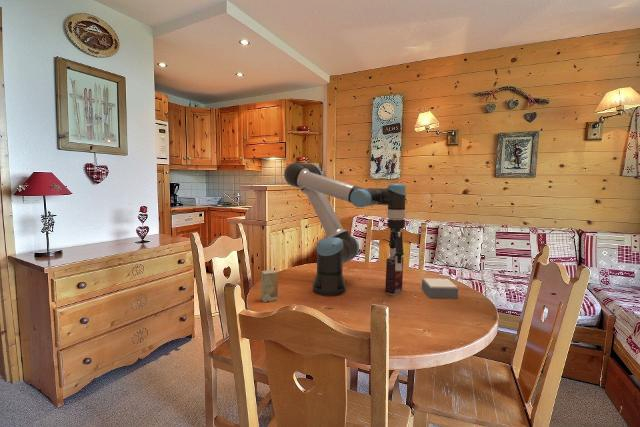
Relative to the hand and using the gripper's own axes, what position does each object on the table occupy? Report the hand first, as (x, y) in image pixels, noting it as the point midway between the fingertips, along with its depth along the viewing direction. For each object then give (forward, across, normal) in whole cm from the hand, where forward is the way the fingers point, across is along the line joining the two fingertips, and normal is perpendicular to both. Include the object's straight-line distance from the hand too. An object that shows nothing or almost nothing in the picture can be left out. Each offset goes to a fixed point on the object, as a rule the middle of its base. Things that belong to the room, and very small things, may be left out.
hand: (395, 266), depth 144 cm
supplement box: (+12, 0, 0) cm, 12 cm away
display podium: (+12, 0, -20) cm, 23 cm away
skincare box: (+12, -12, +54) cm, 57 cm away
